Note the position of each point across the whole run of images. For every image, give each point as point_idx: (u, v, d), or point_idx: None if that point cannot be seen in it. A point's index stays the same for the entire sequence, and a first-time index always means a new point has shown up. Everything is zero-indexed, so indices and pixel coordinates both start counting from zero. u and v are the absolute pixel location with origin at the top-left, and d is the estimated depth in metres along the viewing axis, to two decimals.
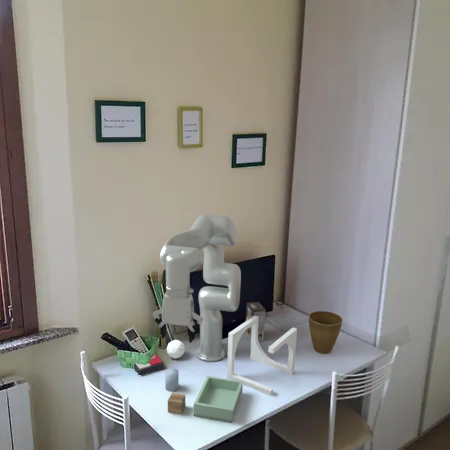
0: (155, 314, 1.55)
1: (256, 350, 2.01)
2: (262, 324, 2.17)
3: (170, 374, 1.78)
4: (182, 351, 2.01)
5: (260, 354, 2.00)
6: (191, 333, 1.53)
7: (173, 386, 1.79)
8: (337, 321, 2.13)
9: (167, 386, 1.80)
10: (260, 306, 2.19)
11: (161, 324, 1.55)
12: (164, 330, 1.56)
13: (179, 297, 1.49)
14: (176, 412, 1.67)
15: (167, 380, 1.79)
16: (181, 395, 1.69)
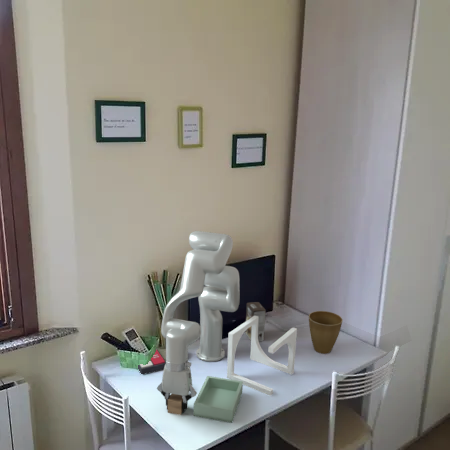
0: (159, 388, 1.68)
1: (256, 350, 2.01)
2: (262, 324, 2.17)
3: None
4: None
5: (260, 354, 2.00)
6: (183, 404, 1.67)
7: None
8: (337, 321, 2.13)
9: None
10: (260, 306, 2.19)
11: (167, 397, 1.67)
12: None
13: (178, 371, 1.61)
14: (176, 412, 1.67)
15: None
16: (181, 395, 1.69)
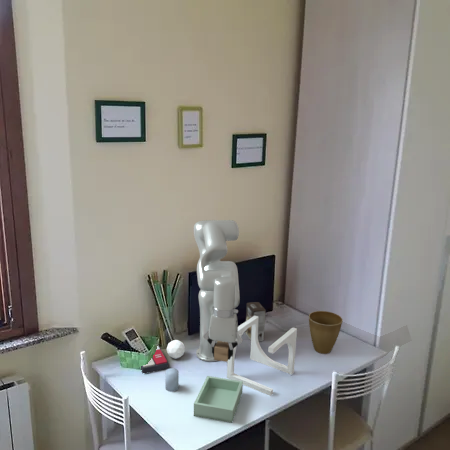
0: (206, 335, 1.72)
1: (256, 350, 2.01)
2: (262, 324, 2.17)
3: (170, 374, 1.78)
4: (182, 351, 2.01)
5: (260, 354, 2.00)
6: (230, 351, 1.70)
7: (173, 386, 1.79)
8: (337, 321, 2.13)
9: (167, 386, 1.80)
10: (260, 306, 2.19)
11: (213, 344, 1.71)
12: None
13: (226, 317, 1.65)
14: (222, 359, 1.70)
15: (167, 380, 1.79)
16: (226, 343, 1.73)
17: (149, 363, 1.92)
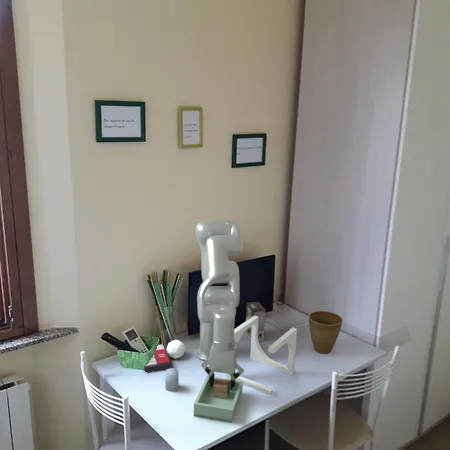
0: (204, 365, 1.75)
1: (256, 350, 2.01)
2: (262, 324, 2.17)
3: (170, 374, 1.78)
4: (182, 351, 2.01)
5: (260, 354, 2.00)
6: (232, 381, 1.73)
7: (173, 386, 1.79)
8: (337, 321, 2.13)
9: (167, 386, 1.80)
10: (260, 306, 2.19)
11: (210, 374, 1.74)
12: (213, 379, 1.76)
13: (225, 350, 1.68)
14: (222, 396, 1.74)
15: (167, 380, 1.79)
16: (226, 381, 1.77)
17: (152, 362, 1.93)
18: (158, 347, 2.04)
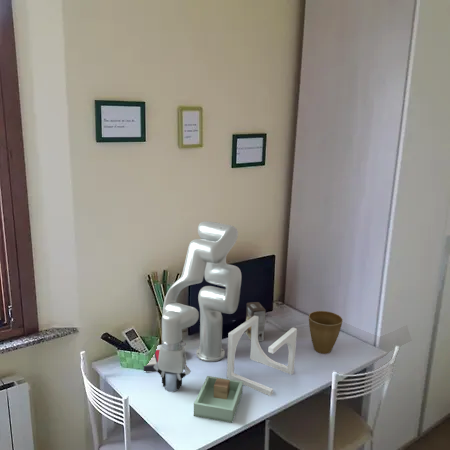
0: (156, 366, 1.81)
1: (256, 350, 2.01)
2: (262, 324, 2.17)
3: (170, 374, 1.78)
4: None
5: (260, 354, 2.00)
6: (178, 381, 1.79)
7: (173, 386, 1.79)
8: (337, 321, 2.13)
9: (167, 386, 1.80)
10: (260, 306, 2.19)
11: (163, 375, 1.80)
12: None
13: (173, 350, 1.74)
14: (222, 396, 1.74)
15: (167, 380, 1.79)
16: (226, 381, 1.77)
17: (151, 362, 1.93)
18: None
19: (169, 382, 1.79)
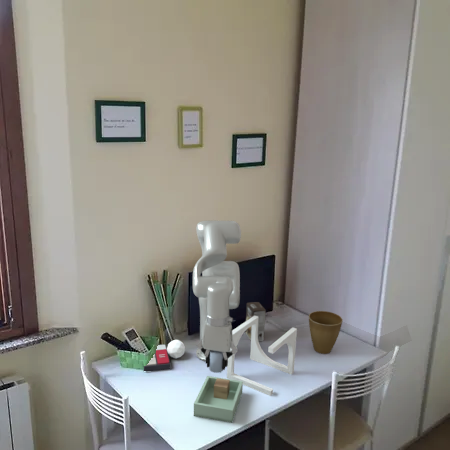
0: (199, 345, 1.64)
1: (256, 350, 2.01)
2: (262, 324, 2.17)
3: (215, 353, 1.62)
4: (183, 351, 2.01)
5: (260, 354, 2.00)
6: (224, 361, 1.63)
7: (219, 367, 1.63)
8: (337, 321, 2.13)
9: (212, 367, 1.63)
10: (260, 306, 2.19)
11: (207, 354, 1.64)
12: (209, 359, 1.65)
13: (220, 326, 1.58)
14: (222, 396, 1.74)
15: (212, 360, 1.63)
16: (226, 381, 1.77)
17: (151, 362, 1.93)
18: (160, 347, 2.04)
19: (214, 362, 1.62)
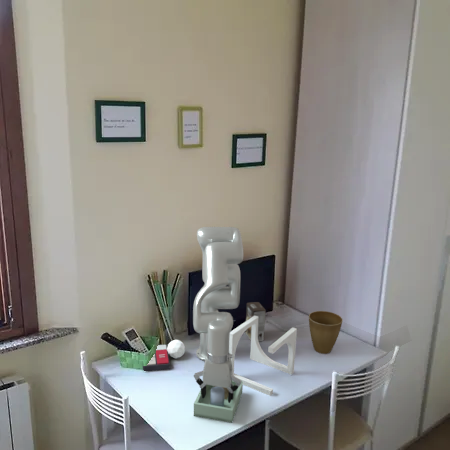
0: (196, 376, 1.68)
1: (256, 350, 2.01)
2: (262, 324, 2.17)
3: (216, 393, 1.66)
4: (183, 350, 2.01)
5: (260, 354, 2.00)
6: (230, 394, 1.65)
7: None
8: (337, 321, 2.13)
9: None
10: (260, 306, 2.19)
11: (202, 385, 1.67)
12: (204, 390, 1.68)
13: (220, 363, 1.61)
14: None
15: (213, 400, 1.66)
16: None
17: (150, 362, 1.93)
18: (161, 347, 2.04)
19: (215, 402, 1.66)
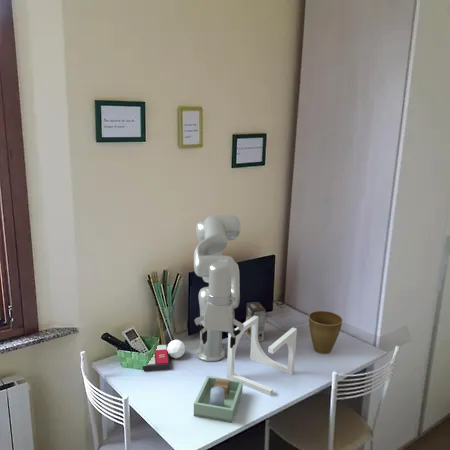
0: (197, 321, 1.62)
1: (256, 350, 2.01)
2: (262, 324, 2.17)
3: (216, 393, 1.66)
4: (183, 350, 2.02)
5: (260, 354, 2.00)
6: (232, 339, 1.60)
7: None
8: (337, 321, 2.13)
9: None
10: (260, 306, 2.19)
11: (203, 330, 1.62)
12: (205, 336, 1.63)
13: (222, 305, 1.55)
14: None
15: (212, 400, 1.66)
16: (226, 381, 1.77)
17: (150, 362, 1.93)
18: (161, 347, 2.04)
19: (214, 402, 1.66)
